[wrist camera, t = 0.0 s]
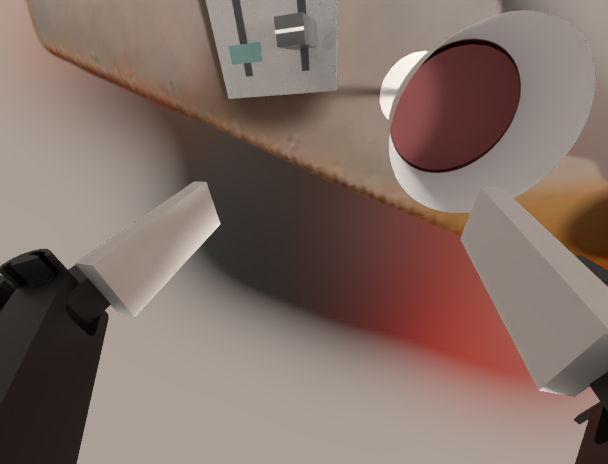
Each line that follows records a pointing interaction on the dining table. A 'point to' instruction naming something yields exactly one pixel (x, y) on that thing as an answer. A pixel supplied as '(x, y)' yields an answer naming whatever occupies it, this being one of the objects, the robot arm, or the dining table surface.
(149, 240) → the robot arm
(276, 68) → the console
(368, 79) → the dining table surface
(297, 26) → the fader black
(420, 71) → the wineglass
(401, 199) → the dining table surface
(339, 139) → the dining table surface
